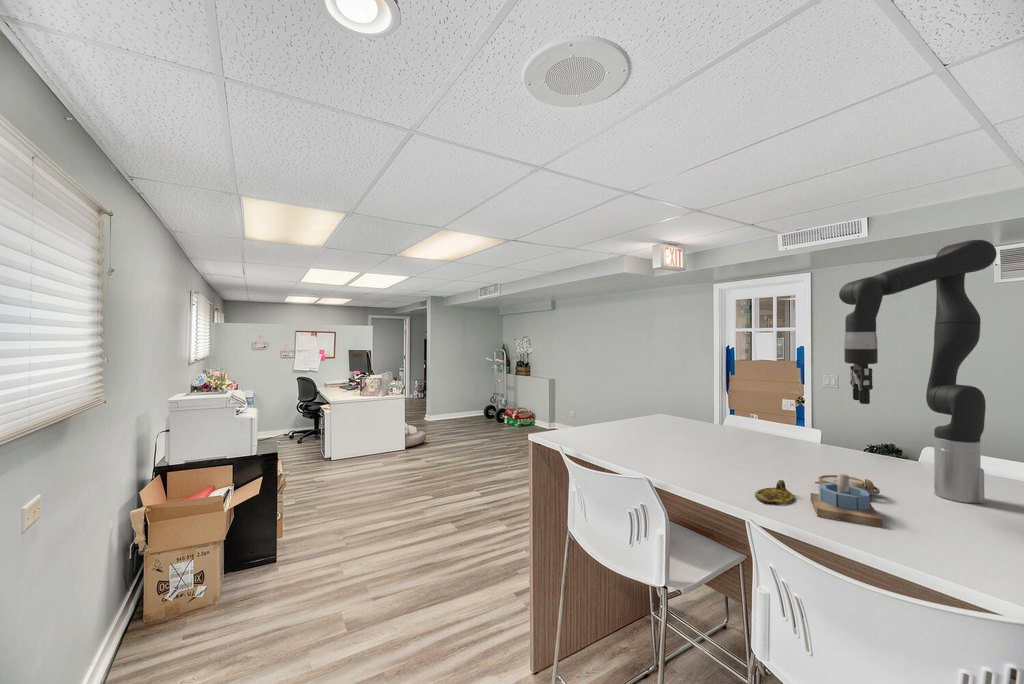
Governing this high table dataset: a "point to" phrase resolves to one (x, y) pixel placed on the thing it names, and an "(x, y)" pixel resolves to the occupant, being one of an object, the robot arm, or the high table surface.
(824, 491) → the rubber loop
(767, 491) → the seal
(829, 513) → the wooden peg stand
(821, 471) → the high table surface
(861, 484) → the alarm clock
